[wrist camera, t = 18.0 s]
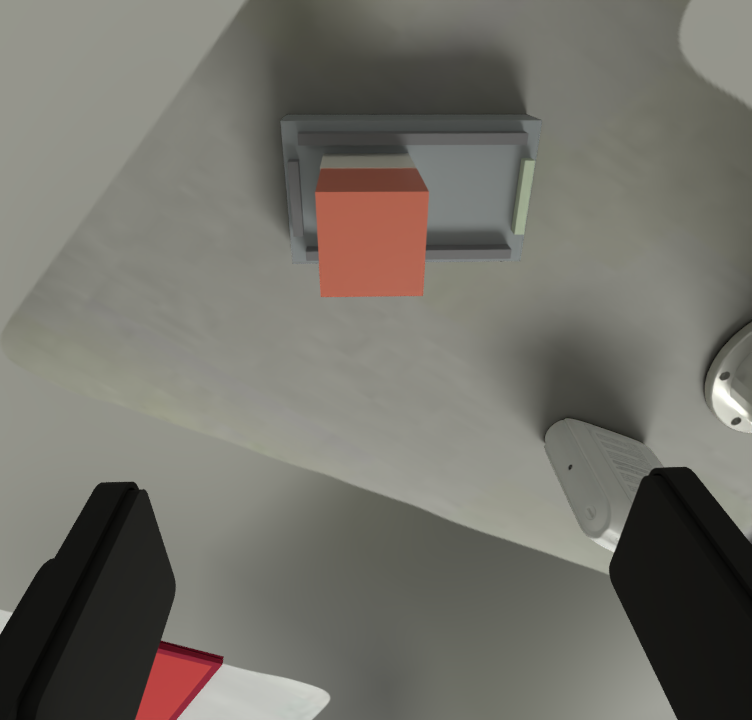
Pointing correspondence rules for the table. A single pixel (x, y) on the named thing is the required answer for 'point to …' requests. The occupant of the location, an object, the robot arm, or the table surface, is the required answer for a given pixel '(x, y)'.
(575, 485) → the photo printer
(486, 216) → the grey tray
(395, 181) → the red cube
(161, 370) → the table surface
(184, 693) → the red board with handle
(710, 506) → the robot arm
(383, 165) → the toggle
